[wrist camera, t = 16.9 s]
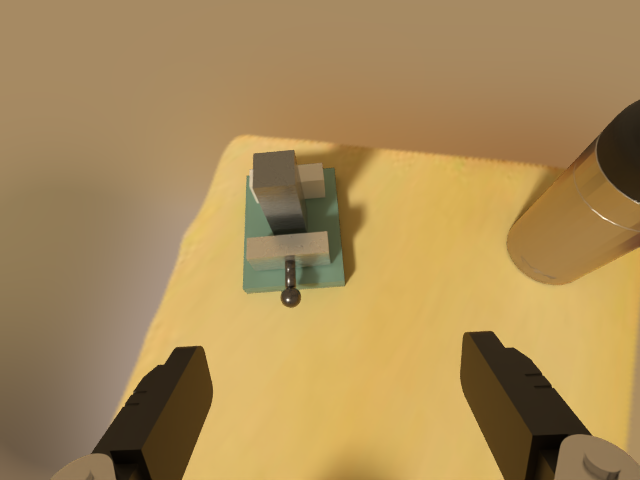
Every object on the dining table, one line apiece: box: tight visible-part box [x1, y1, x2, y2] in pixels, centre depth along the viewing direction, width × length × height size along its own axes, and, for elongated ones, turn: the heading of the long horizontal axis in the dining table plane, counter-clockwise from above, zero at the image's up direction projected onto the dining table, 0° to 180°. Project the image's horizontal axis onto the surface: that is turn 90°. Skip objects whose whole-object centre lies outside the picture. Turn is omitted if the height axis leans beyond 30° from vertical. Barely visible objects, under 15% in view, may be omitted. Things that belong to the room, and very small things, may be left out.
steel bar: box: [253, 150, 308, 236], centre depth 39 cm, size 4×4×12 cm
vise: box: [243, 163, 345, 293], centre depth 44 cm, size 16×12×6 cm
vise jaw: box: [246, 231, 330, 308], centre depth 39 cm, size 8×9×4 cm
